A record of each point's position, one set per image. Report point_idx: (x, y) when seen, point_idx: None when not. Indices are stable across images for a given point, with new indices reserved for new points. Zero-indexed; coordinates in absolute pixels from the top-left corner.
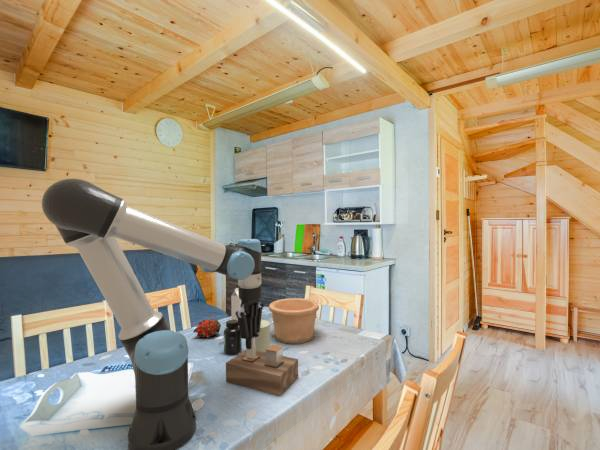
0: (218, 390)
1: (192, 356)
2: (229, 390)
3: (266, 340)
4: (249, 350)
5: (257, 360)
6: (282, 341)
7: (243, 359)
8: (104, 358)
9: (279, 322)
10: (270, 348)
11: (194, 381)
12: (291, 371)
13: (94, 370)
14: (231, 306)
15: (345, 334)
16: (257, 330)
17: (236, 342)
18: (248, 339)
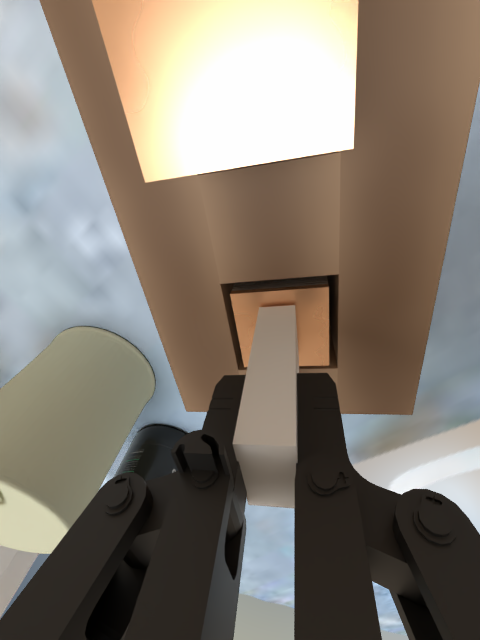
0: (475, 322)
1: (276, 512)
2: (460, 278)
3: (37, 384)
4: (297, 372)
5: (284, 267)
6: None
7: (328, 355)
8: (394, 620)
9: None
10: (275, 88)
11: (430, 434)
12: None
13: None
14: (6, 606)
15: None
16: (137, 520)
17: (155, 474)
18: (360, 478)
